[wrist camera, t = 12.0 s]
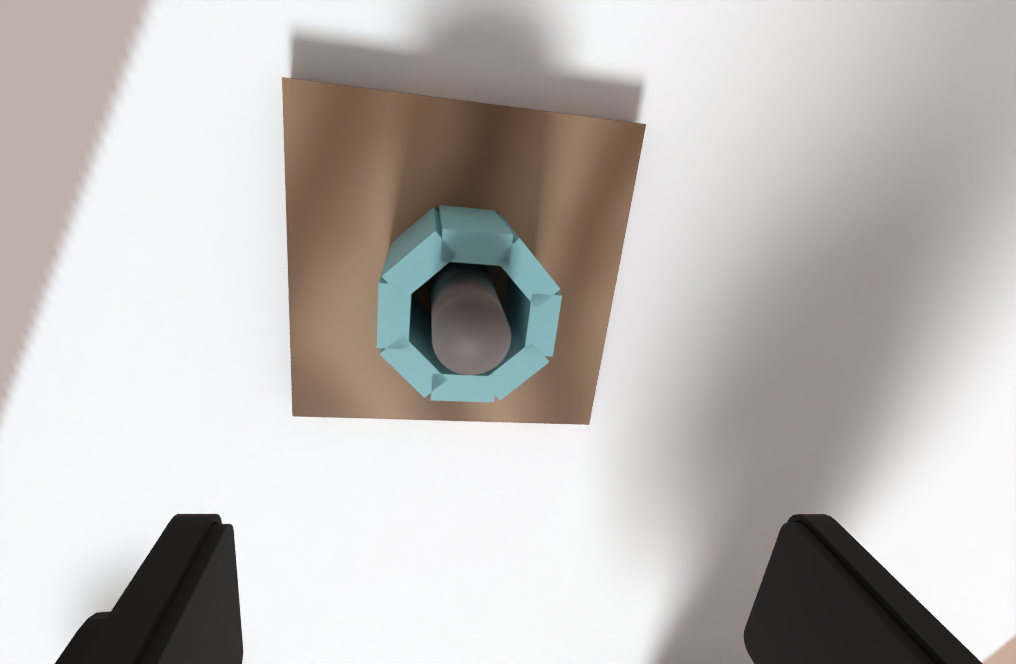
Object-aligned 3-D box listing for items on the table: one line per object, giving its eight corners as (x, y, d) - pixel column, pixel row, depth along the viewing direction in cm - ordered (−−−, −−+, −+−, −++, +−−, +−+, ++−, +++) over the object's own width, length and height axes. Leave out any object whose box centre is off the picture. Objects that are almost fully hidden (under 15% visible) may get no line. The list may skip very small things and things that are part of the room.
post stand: (634, 124, 26) (737, 125, 17) (582, 411, 32) (640, 521, 23) (290, 79, 24) (208, 55, 15) (299, 402, 29) (243, 522, 20)
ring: (539, 214, 26) (570, 239, 20) (522, 348, 28) (545, 404, 23) (391, 200, 25) (380, 223, 19) (386, 341, 27) (375, 398, 21)
